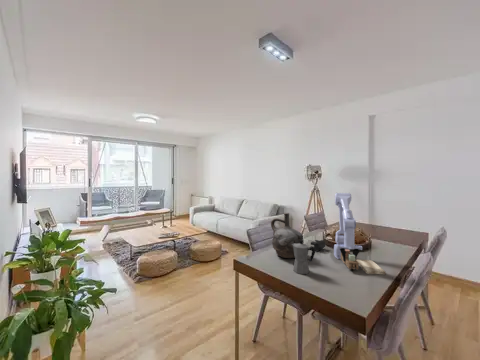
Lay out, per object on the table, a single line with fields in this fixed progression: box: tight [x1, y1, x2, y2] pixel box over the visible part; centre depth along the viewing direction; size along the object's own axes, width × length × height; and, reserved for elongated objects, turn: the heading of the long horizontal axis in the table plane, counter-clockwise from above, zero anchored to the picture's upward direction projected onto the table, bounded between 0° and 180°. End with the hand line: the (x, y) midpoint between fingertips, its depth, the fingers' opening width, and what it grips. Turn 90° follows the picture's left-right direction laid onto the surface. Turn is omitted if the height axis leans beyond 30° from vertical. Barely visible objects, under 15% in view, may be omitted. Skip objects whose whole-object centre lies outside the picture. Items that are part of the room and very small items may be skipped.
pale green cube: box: [348, 253, 355, 261], centre depth 135 cm, size 3×3×3 cm
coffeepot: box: [291, 240, 316, 275], centre depth 133 cm, size 15×9×18 cm, turn 43°
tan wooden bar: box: [340, 253, 359, 270], centre depth 139 cm, size 16×5×4 cm, turn 173°
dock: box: [356, 258, 387, 275], centre depth 139 cm, size 10×18×2 cm, turn 173°
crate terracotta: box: [345, 249, 351, 256], centre depth 143 cm, size 3×3×3 cm
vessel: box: [270, 212, 305, 259], centre depth 159 cm, size 24×22×30 cm
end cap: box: [310, 239, 326, 252], centre depth 171 cm, size 10×7×7 cm
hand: (349, 260), depth 139 cm, fingers closed on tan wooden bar, 5 cm apart
